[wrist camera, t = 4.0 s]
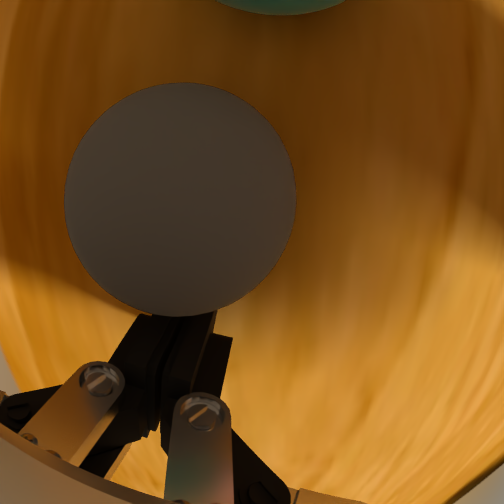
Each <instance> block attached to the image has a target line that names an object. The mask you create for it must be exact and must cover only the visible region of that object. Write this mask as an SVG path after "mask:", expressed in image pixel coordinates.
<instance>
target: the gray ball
mask: <svg viewBox="0 0 504 504" xmlns="http://www.w3.org/2000/svg"><path fill="white" fill-rule="evenodd" d="M64 208H65V220H66V225H67V229H68V233H69V237H70V240H71V242H72V245H73V248H74V250H75V252H76V254H77V256H78V258H79V260H80V261H81V263H82V265H83V266H84V268H85V269H86V270H87V272H88V273H89V274H90V276H91V277H92V278H93V279H94V280H95V281H96V282H97V283H98V284H99V285H100V286H101V287H102V288H103V289H104V290H105V291H106V292H108V293H109V294H111V295H112V296H114V297H115V298H116V299H118V300H119V301H121V302H123V303H125V304H127V305H129V306H131V307H133V308H136V309H138V310H141V311H144V312H148V313H152V314H156V315H162V316H172V317H179V316H194V315H199V314H203V313H208V312H212V311H214V310H217V309H220V308H222V307H225V306H227V305H229V304H231V303H233V302H235V301H237V300H238V299H240V298H242V297H243V296H245V295H246V294H247V293H249V292H250V291H251V290H253V289H254V288H255V287H256V286H257V285H258V284H259V283H260V282H261V281H262V280H263V279H264V278H265V277H266V276H267V275H268V274H269V272H270V271H271V270H272V268H273V267H274V266H275V265H276V263H277V261H278V260H279V258H280V256H281V254H282V253H283V251H284V249H285V247H286V244H287V242H288V239H289V237H290V234H291V230H292V227H293V223H294V219H295V210H296V185H295V178H294V172H293V167H292V164H291V161H290V158H289V155H288V153H287V151H286V149H285V147H284V145H283V143H282V141H281V139H280V137H279V135H278V134H277V133H276V131H275V130H274V128H273V127H272V126H271V124H270V123H269V122H268V121H267V120H266V119H265V118H264V117H263V116H262V115H261V114H260V113H259V112H258V111H257V110H256V109H255V108H254V107H252V106H251V105H250V104H248V103H247V102H245V101H244V100H242V99H240V98H239V97H237V96H235V95H233V94H231V93H229V92H227V91H224V90H222V89H219V88H216V87H212V86H208V85H203V84H197V83H169V84H162V85H157V86H153V87H150V88H146V89H143V90H140V91H138V92H136V93H134V94H132V95H130V96H128V97H126V98H124V99H122V100H121V101H119V102H117V103H116V104H115V105H113V106H112V107H111V108H109V109H108V110H106V111H105V112H104V113H103V114H102V115H101V116H100V117H99V118H98V119H97V120H96V121H95V122H94V124H93V125H92V126H91V127H90V129H89V130H88V131H87V133H86V134H85V135H84V137H83V138H82V140H81V142H80V143H79V145H78V147H77V149H76V151H75V153H74V155H73V158H72V161H71V164H70V166H69V169H68V174H67V179H66V184H65V195H64Z"/></svg>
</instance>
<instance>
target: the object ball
mask: <svg viewBox="0 0 504 504" xmlns="http://www.w3.org/2000/svg"><path fill="white" fill-rule="evenodd" d="M215 1H217V2H219V3H221V4H224V5H227V6H230V7H232V8H236V9H239V10H243V11H247V12H251V13H257V14H264V15H299V14H305V13H311V12H316V11H320V10H323V9H327V8H330V7H332V6H335V5H338V4H340V3H342V2H344V1H345V0H215Z"/></svg>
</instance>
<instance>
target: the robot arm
mask: <svg viewBox="0 0 504 504" xmlns="http://www.w3.org/2000/svg"><path fill="white" fill-rule="evenodd" d="M216 314H217V310H214V311H212V312H208V313H203V314H199V315H194V316H179V317H172V316H162V315H156V314H152V316H148V315H145V314H142V313H141V314H139V315H138V317H137V318H136V320H135V321H134V323H133V324H132V326H131V327H130V329H129V330H128V332H127V333H126V335H125V336H124V338H123V339H122V341H121V343H120V344H119V346H118V347H117V349H116V350H115V352H114V354H113V355H112V357H111V358H110V360H109V361H108V363H107V362H101V361H95V362H89V363H87V364H84V365H83V366H81V367H80V368H79V369H77V371H76V372H75V373H74V374H73V375H72V376H71V377H70V378H69V379H68V380H67V381H66V382H65V383H64V384H62V385H58V386H53V387H49V388H44V389H39V390H34V391H29V392H24V393H19V394H14V395H12V396H7V394H6V392H4V391H1V390H0V504H366V503H364V502H361V501H356V500H350V499H345V498H340V497H335V496H331V495H327V494H322V493H318V492H314V491H310V490H306V489H303V488H300V489H299V490H296V489H293V488H289V487H287V486H286V485H285V483H284V482H283V481H282V480H281V479H280V478H279V477H278V476H277V475H276V474H275V473H274V472H273V471H272V470H271V469H270V468H269V467H268V466H267V465H266V464H265V463H264V462H263V461H262V460H261V459H260V458H259V457H258V456H257V455H256V454H255V453H254V452H253V451H252V450H251V449H250V448H249V447H248V446H247V445H246V443H245V442H244V441H243V440H242V439H241V438H240V437H239V436H238V435H237V434H236V433H235V431H234V430H233V429H232V428H231V414H230V410H229V408H228V407H227V405H226V403H224V402H223V401H222V400H221V399H220V396H221V391H222V386H223V382H224V377H225V373H226V368H227V363H228V359H229V354H230V349H231V345H232V340H233V338H231V337H227V336H223V335H219V334H215V333H213V329H214V324H215V319H216ZM159 422H160V433H161V447H162V448H163V450H164V451H165V453H166V454H167V456H168V461H167V471H166V481H165V491H164V499H161V498H158V497H155V496H152V495H148V494H145V493H142V492H139V491H136V490H133V489H130V488H127V487H125V486H122V485H119V484H117V483H114V482H111V481H109V480H110V479H111V477H112V476H113V474H114V473H115V471H116V469H117V468H118V466H119V465H120V463H121V462H122V460H123V458H124V457H125V455H126V454H127V452H128V450H129V449H130V446H131V444H132V442H135V441H138V440H141V437H142V436H143V437H146V438H147V437H148V435H149V432H150V430H152V431H156V430H157V427H158V425H159Z"/></svg>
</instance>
